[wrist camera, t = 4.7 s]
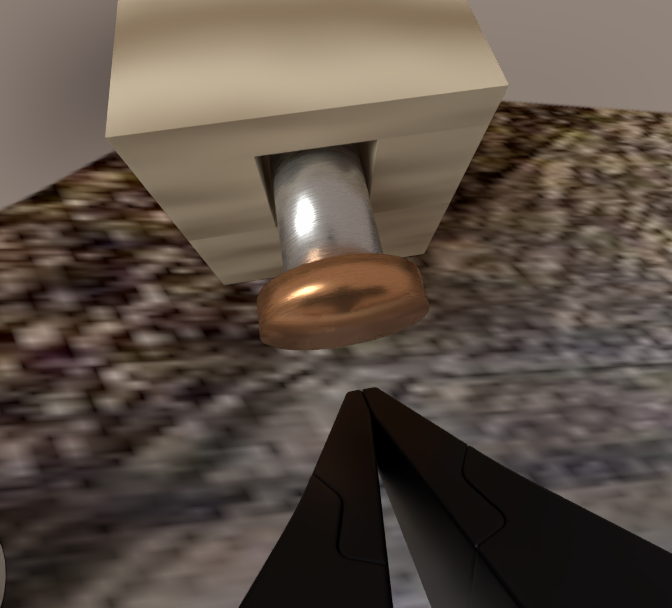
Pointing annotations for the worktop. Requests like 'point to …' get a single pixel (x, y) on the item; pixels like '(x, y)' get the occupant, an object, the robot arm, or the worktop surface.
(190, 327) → the worktop surface
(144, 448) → the worktop surface
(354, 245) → the peg
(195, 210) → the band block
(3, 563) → the cylindrical container
